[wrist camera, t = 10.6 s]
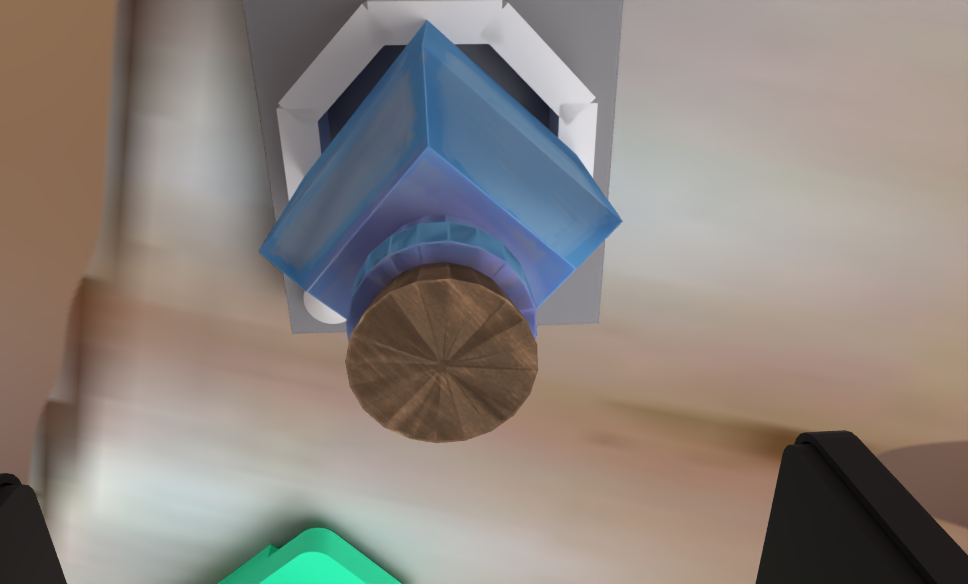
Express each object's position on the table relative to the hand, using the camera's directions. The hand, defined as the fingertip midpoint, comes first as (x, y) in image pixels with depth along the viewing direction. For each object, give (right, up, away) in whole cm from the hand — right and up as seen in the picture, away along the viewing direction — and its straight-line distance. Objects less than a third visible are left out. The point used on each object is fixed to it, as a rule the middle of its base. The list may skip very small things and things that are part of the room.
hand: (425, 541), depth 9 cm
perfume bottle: (-1, +7, +13) cm, 15 cm away
